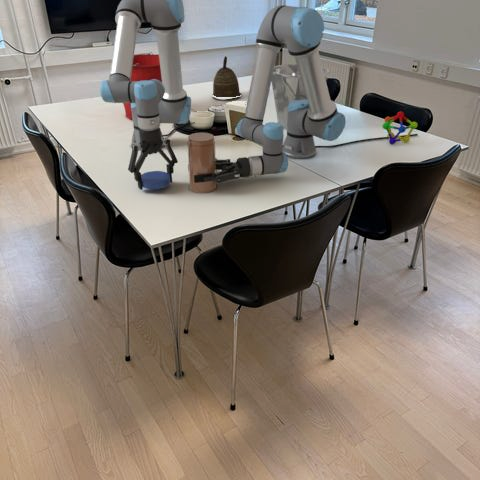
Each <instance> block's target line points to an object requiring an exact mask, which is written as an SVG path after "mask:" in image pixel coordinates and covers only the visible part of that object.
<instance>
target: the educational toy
mask: <svg viewBox="0 0 480 480" xmlns="http://www.w3.org/2000/svg"><path fill="white" fill-rule="evenodd" d="M397 119H399V124H400V125H399V127H398V126H393V125H391V124H392V123H394V122H395V121H396V120H397ZM403 120H404V121H405V122H407V123H408V124H409V125H407V126H404V123H403ZM417 127H418V122H417V121H411V120H410V119H409V118H408V117H406V116H405V113H404V112H403V111H401V110H400V111H398V112H397V114H396V115H394V116H391V117H390V116H386V117H385V118H384V122H383V123H382V129H383V130H386V132H387V137H388V138H389V139H388V142H389V145H395V144H396V143H397V142H402V141H403V142H404V143H409V142H410V140H411V138H410V137H411V136H410V135H411V134H412V132H413V131H414V130H415V129H417ZM392 129H393V130H397V131H398V132H396V134H395V133H394V132H392ZM408 129H409V131H408V133H407V134H406V135H407V136H404V137H400V136H401V134H403V133H405V132H406V130H408ZM409 136H410V137H409ZM393 137H394V138H393Z"/></svg>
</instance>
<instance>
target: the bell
mask: <svg viewBox="0 0 480 480" xmlns="http://www.w3.org/2000/svg"><path fill="white" fill-rule="evenodd" d="M227 63H228V57H227V56H224V58H223V63H222V67H221V68H219V69H218V70H217V71H216V73H215V75H214V78H213V81H212V83H213V84H212V95H214V96H216V97H236V96H240V95H241V96H242V93H241V92H240V83H239V80H238V79H239V78H238V77H237V75H236V73H235V72H234V70H232V69H231V68H230V67H227Z"/></svg>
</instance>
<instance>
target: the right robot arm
mask: <svg viewBox="0 0 480 480" xmlns="http://www.w3.org/2000/svg"><path fill="white" fill-rule="evenodd" d="M324 31H325V22H324V19H323V17H322V14H321V13H320V12H319V11H318V10H317V9H315V8H311V7H308V6H293V5H292V6H291V5H284V4H280V5H277V6H275V7H273V8H271V9H270V10H269V11H268V12H267V13H266V14H265V16H264V17H263V19H262V21H261V23H260V26H259V28H258V30H257V35H256V40H255V45H256V48H257V49H256V54H255V59H254V64H253V70H252V75H251V81H250V86H249V91H248V96H247V100H246V103H247V104H246V106H245V112H244V118H241V119H240V120H239V121H238V123H237V125H236V133H237V134H238V136H240V137H241V138H243V139H244V140H247V141H248V142H249V141H250V142H252V143H254V144H257V145H259V146H262V155H252V156H248V157H247V156H243V157H238V158H237V159H236V161H235V162H234V161H231V159H230V158H227V159H226V158H225V159H217V160H216V171H217V170H218V172H216V173H210V174H201V175H194V183H199V182H207V181H213V182H216V184H220V183H224V182H229V181H233V180H238V179H241V178H242V179H243V178H249V177H255V178H256V177H258V176H265V175H277V174H282V173H285V172H287V170H288V168H289V158H291V159H297V160H298V159H299V160H302V159H310V158H313V157H314V156H316V154H317V149H331V148H337V147H342V146H347V145H351V144H357V143H362V142H363V143H364V142H369V141H370V142H371V141H378V140H379V141H380V140H390V139H389V138H388V136H381V137H372V138H364V139H357V140H352V141H348V142H342V143H338V144H333V145H316V143H315V138H314V137H316V138H318V139H321V140H323V141H328V142H333V141H336V140H337V139H338V138H340V136H341V135H342V133H343V132H344V129H345V128H346V123H347V122H346V120H347V119H346V116H345V115H344V113H342V112H339V111H338V108H337V104H336V102H335V101H334V100H332V99H331V96H330V92H329V88H328V85H327V81H326V79H325V75H324V71H323V67H324V66H323V63H322V60H321V56H320V55H321V54H320V52H319V48H320V46H321V43H322V40H323V37H324V33H323V32H324ZM284 43H285V45H286V47H287V48H286V49H287V52H288V54H289V55H290V56H292V57H294V60H295V64H297V67H298V70H299V73H300V77H301V80H302V84H303V87H304V90H305V94H306V97H307V100H296V101H292V102H291V103H290V104H289V108H288V120H287V129H286V136H284V128H283V126H282V124H280V123H278V122H275V121H270V122H265V123H264V118H265V114H266V109H267V108H266V107H267V105H268V99H269V95H270V91H271V90H270V89H271V86H272V82H271V81H272V76H273V71H274V66H276V61H277V56H278V52H279V51H281V49H282V46H283V44H284ZM407 135H408V134H404V135H399V136H400V137H404V136H407ZM418 135H419V134H418V133H411V134H410V136H409V137H417V136H418ZM284 137H285V139H284ZM393 138H394V137H393ZM187 168H188V169H187V171H188V172H189V163H187ZM212 175H213V176H212Z"/></svg>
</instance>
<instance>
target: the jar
mask: <svg viewBox="0 0 480 480" xmlns="http://www.w3.org/2000/svg"><path fill="white" fill-rule="evenodd" d="M216 158H217V157H216V141H215V137H214V134H212V133H208V132H195V133H191V134H189V135H188V137H187V159H188V161H187V162H188V163H187V164H189V171H188V176H189V177H188V178H189V189H190V191H193V192H195V193H200V194H205V193H211V192H214V191H215V190H216V189H217V183H216V182H213V181H207V182H199V183H194V175H201V174H210V173H217V170H216ZM212 176H213V175H212Z"/></svg>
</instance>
